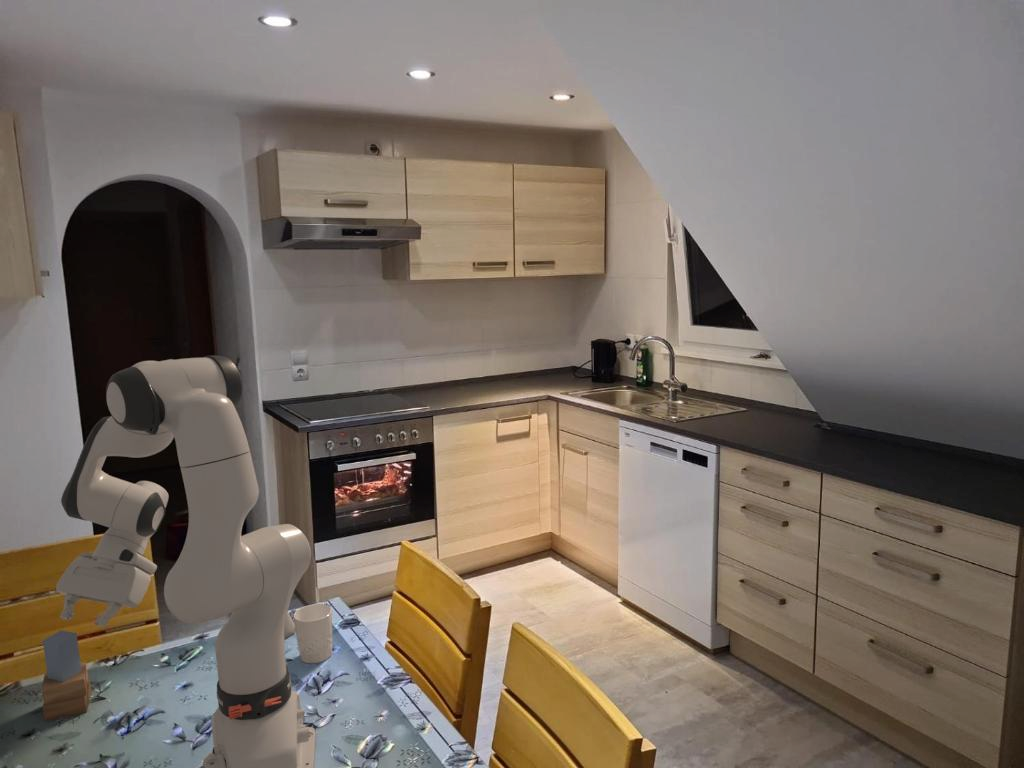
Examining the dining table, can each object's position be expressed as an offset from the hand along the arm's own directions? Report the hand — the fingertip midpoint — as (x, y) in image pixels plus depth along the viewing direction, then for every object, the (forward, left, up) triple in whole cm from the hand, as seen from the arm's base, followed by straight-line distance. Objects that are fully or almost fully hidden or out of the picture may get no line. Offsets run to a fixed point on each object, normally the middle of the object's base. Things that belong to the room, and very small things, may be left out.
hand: (82, 622), depth 149 cm
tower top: (-4, +4, -12) cm, 13 cm away
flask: (+7, -37, -15) cm, 41 cm away
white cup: (-7, -43, -15) cm, 47 cm away
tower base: (-4, +4, -15) cm, 16 cm away
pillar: (-4, +4, -8) cm, 10 cm away
